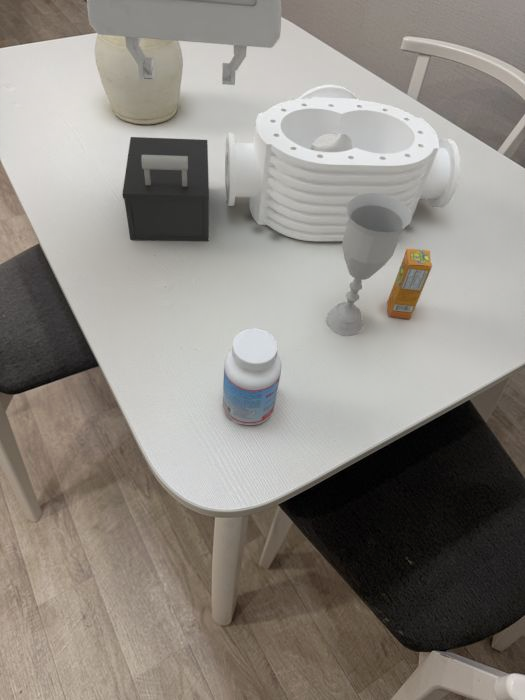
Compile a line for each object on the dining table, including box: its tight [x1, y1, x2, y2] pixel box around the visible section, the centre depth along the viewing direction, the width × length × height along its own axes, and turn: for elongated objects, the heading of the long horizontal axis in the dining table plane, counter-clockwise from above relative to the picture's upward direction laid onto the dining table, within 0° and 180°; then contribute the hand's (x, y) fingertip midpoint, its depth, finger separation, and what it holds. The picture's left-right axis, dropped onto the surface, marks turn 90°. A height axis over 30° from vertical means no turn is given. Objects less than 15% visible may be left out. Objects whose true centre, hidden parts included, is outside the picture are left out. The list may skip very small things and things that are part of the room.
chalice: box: [325, 193, 413, 336], centre depth 63 cm, size 7×7×18 cm
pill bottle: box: [222, 327, 282, 426], centre depth 56 cm, size 6×6×11 cm
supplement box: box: [386, 248, 433, 320], centre depth 68 cm, size 3×3×10 cm
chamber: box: [123, 198, 210, 242], centre depth 78 cm, size 14×12×8 cm
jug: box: [94, 33, 184, 125], centre depth 90 cm, size 15×16×25 cm
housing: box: [224, 84, 461, 242], centre depth 81 cm, size 35×22×14 cm, turn 96°
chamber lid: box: [122, 136, 210, 202], centre depth 73 cm, size 14×12×5 cm
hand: (187, 79), depth 60 cm, fingers open, 8 cm apart
